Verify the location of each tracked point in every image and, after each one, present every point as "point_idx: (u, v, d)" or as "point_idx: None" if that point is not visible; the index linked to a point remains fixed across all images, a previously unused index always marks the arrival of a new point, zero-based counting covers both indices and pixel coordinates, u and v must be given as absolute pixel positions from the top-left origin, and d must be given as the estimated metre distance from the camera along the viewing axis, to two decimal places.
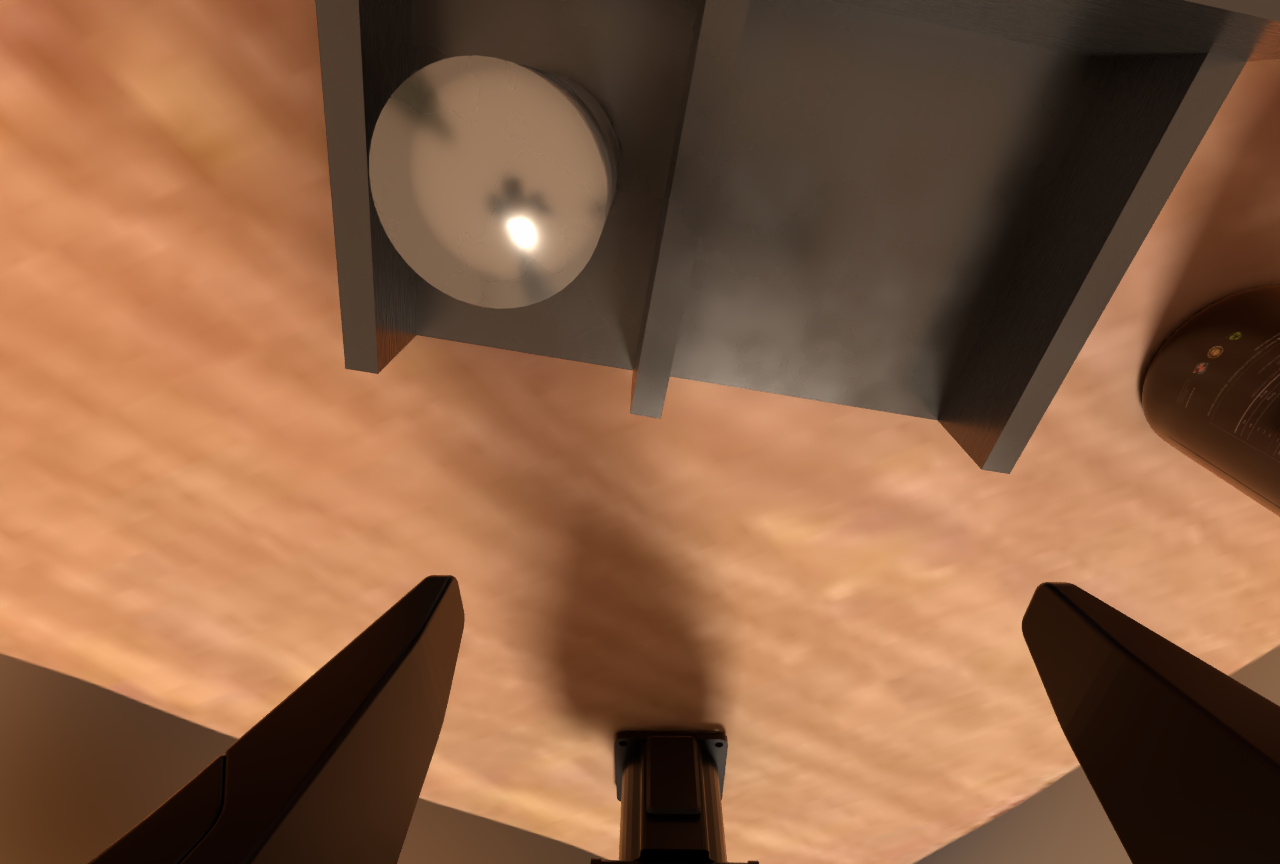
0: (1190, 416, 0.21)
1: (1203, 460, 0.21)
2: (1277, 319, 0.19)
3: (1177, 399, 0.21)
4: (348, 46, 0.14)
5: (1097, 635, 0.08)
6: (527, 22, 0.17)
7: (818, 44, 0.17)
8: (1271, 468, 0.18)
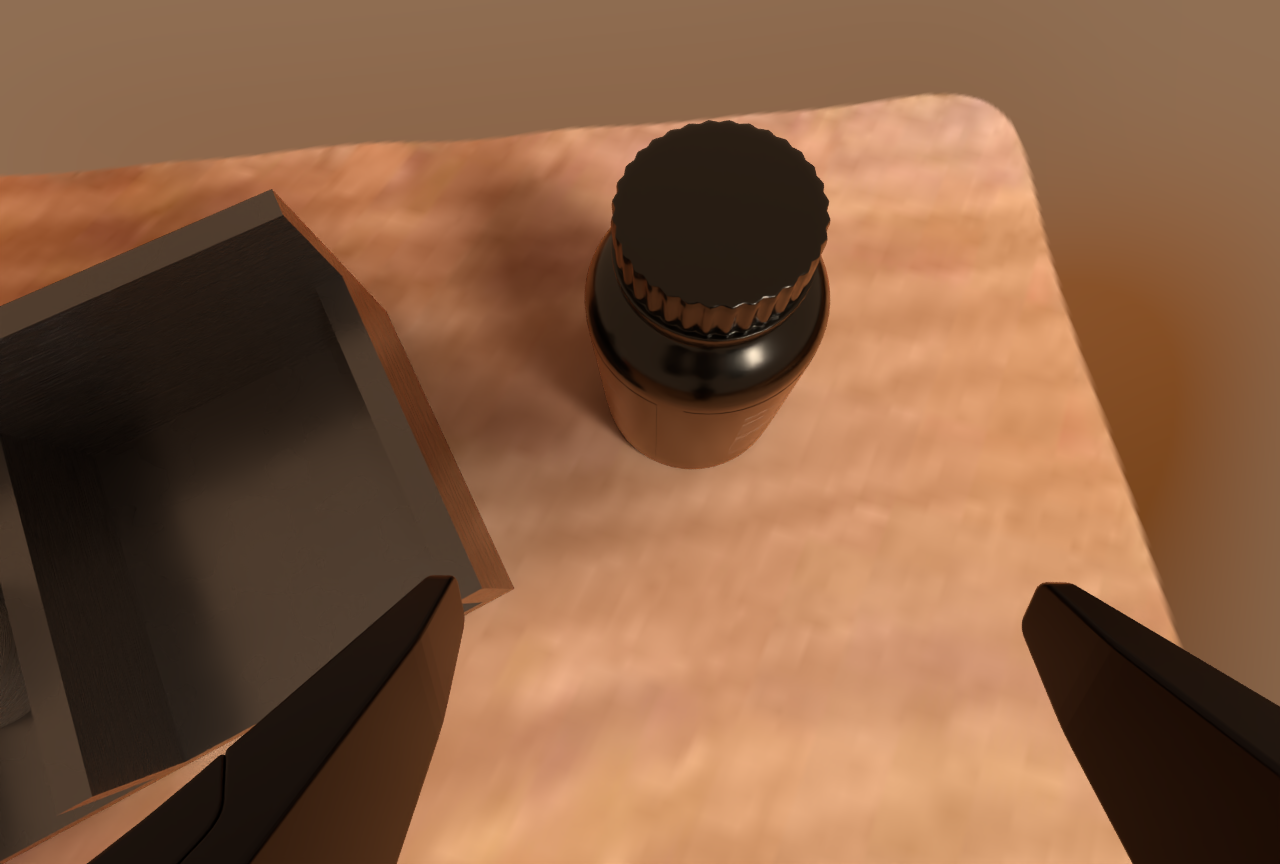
0: (634, 435, 0.21)
1: (679, 452, 0.20)
2: None
3: (628, 434, 0.22)
4: None
5: (1097, 635, 0.08)
6: None
7: (168, 447, 0.23)
8: (635, 412, 0.18)
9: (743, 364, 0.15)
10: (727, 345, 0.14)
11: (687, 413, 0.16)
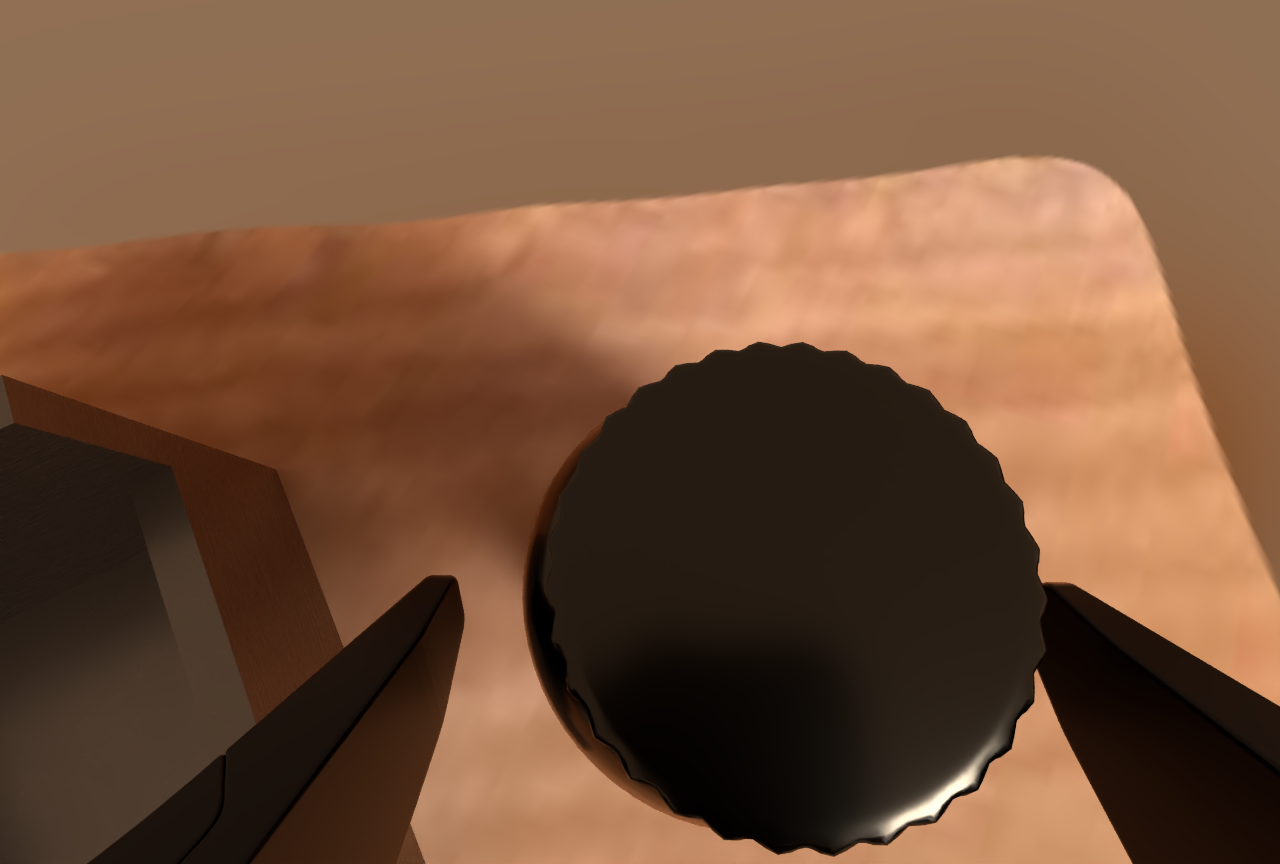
0: None
1: None
2: None
3: None
4: None
5: (1097, 635, 0.08)
6: None
7: None
8: None
9: None
10: None
11: None
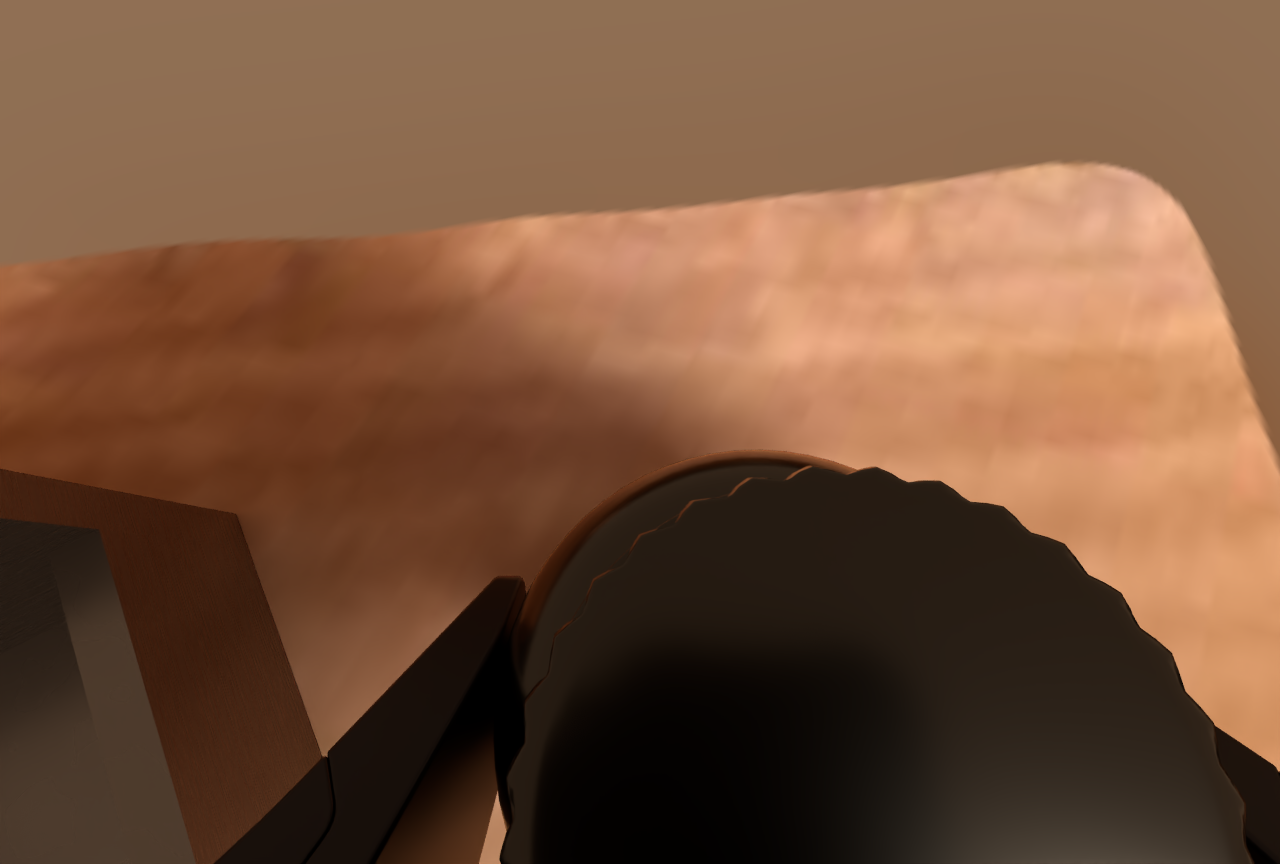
0: None
1: None
2: None
3: None
4: None
5: None
6: None
7: None
8: None
9: None
10: None
11: None
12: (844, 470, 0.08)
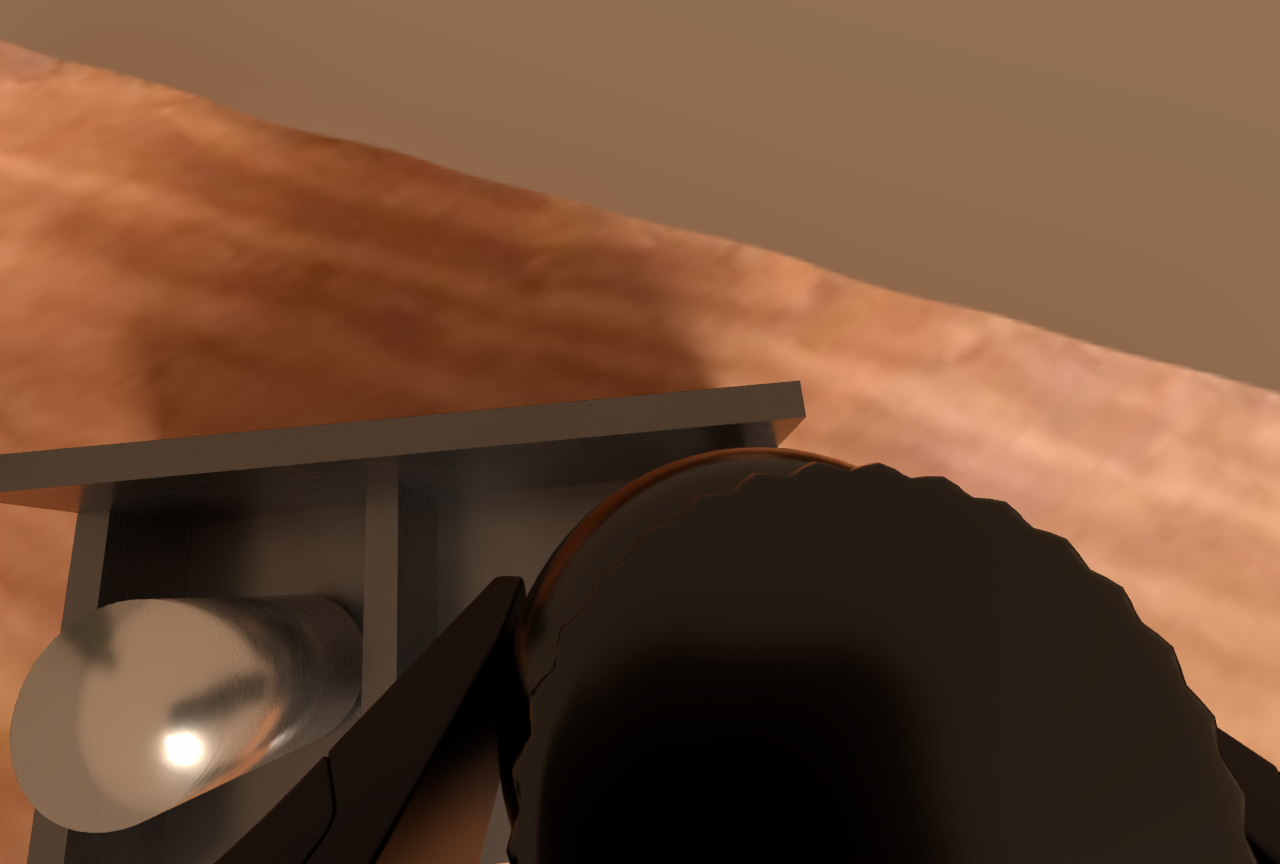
0: None
1: None
2: None
3: None
4: None
5: None
6: (279, 564, 0.21)
7: (507, 519, 0.22)
8: None
9: None
10: None
11: None
12: (846, 467, 0.08)
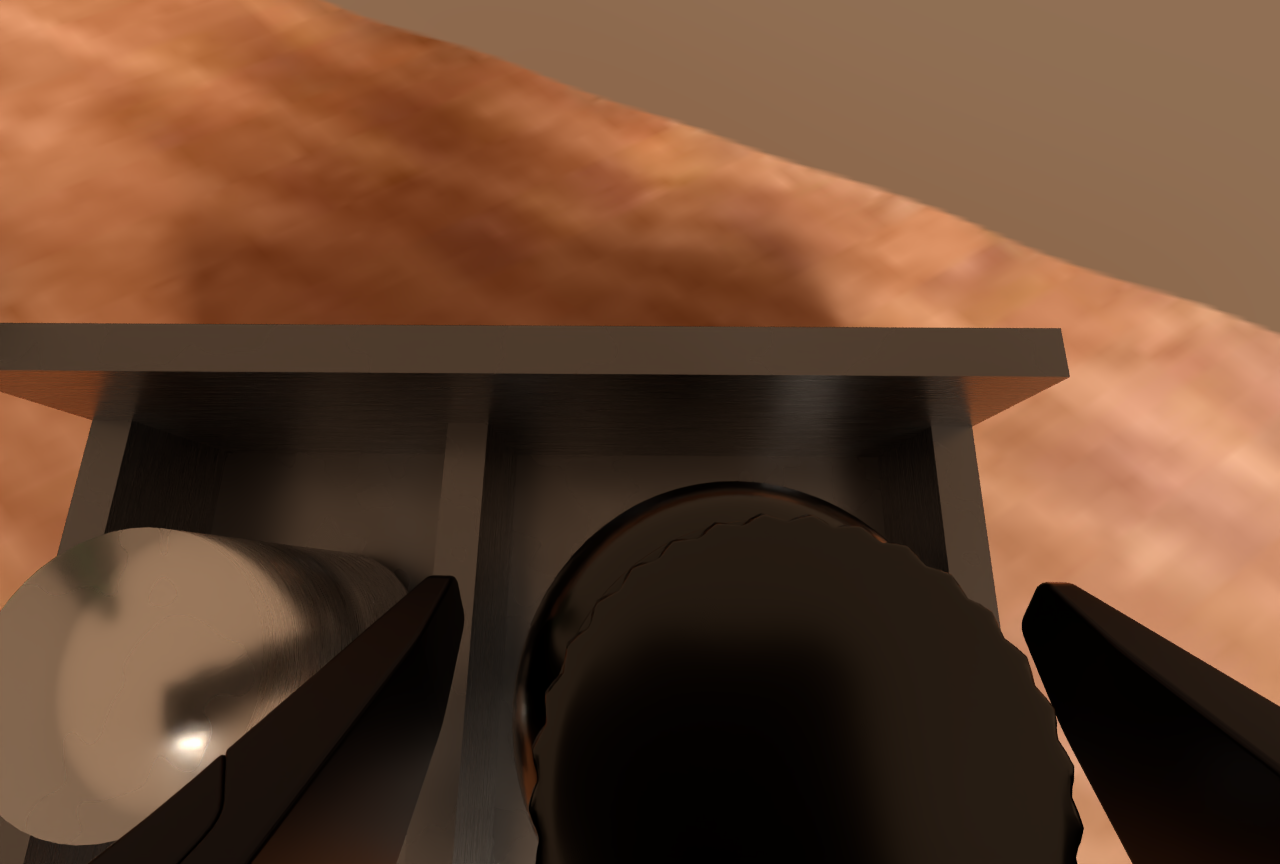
0: None
1: None
2: None
3: None
4: None
5: (1097, 635, 0.08)
6: (323, 514, 0.18)
7: (601, 488, 0.18)
8: None
9: None
10: None
11: None
12: (808, 500, 0.09)
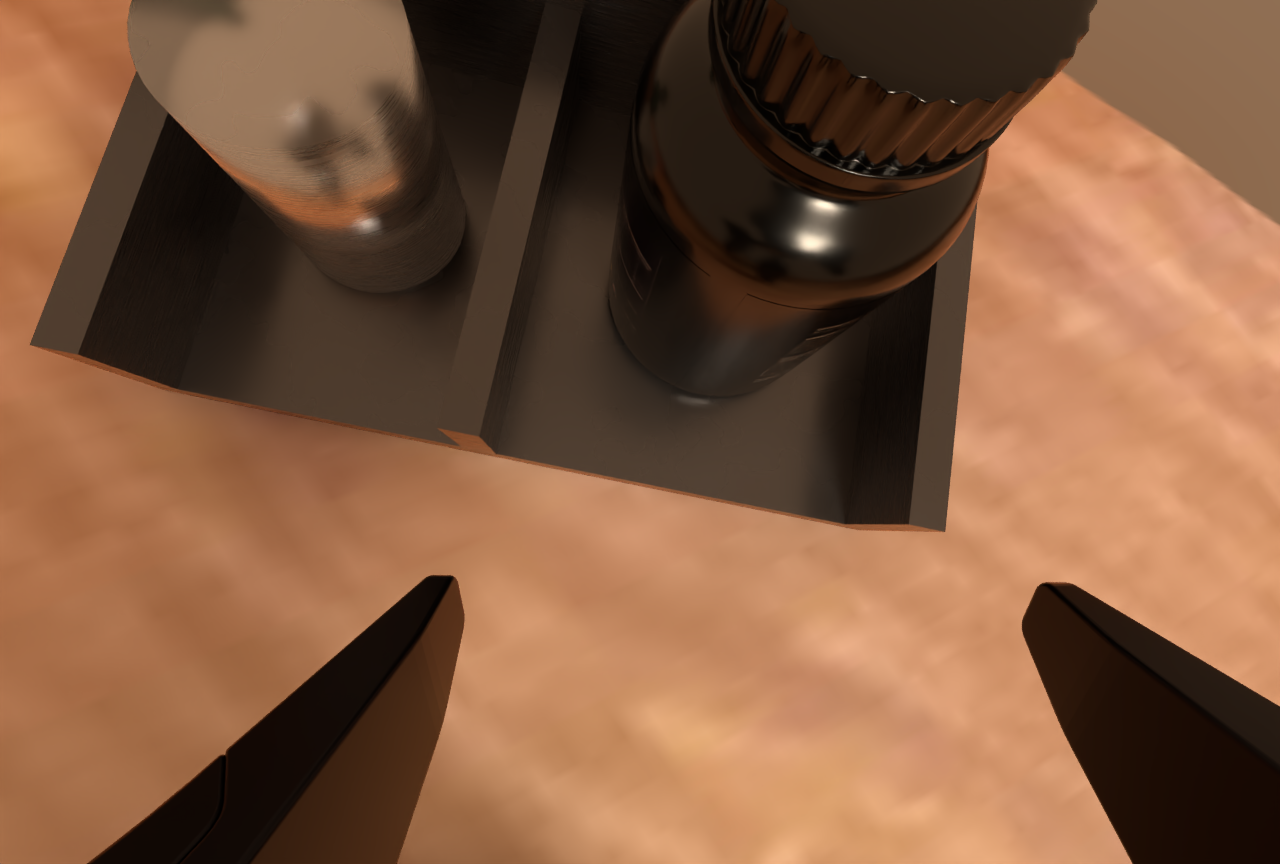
0: (641, 332, 0.16)
1: (698, 365, 0.15)
2: None
3: (631, 331, 0.16)
4: None
5: (1097, 635, 0.08)
6: None
7: None
8: (664, 290, 0.13)
9: (863, 234, 0.10)
10: (865, 188, 0.09)
11: (751, 298, 0.11)
12: None
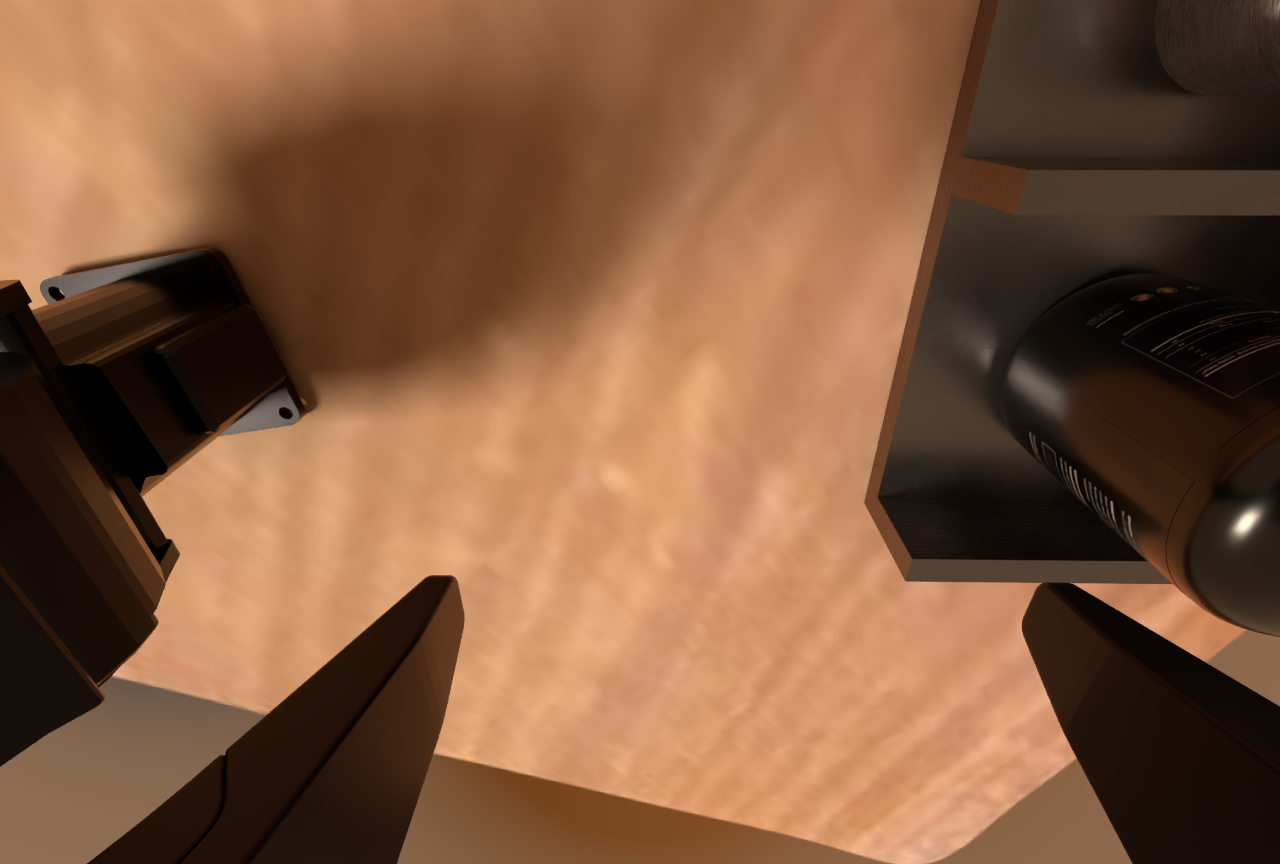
0: (1096, 336, 0.17)
1: (1060, 393, 0.17)
2: (1239, 296, 0.16)
3: (1090, 319, 0.17)
4: None
5: (1097, 635, 0.08)
6: None
7: None
8: (1178, 387, 0.14)
9: (1256, 574, 0.12)
10: None
11: (1188, 483, 0.13)
12: None
